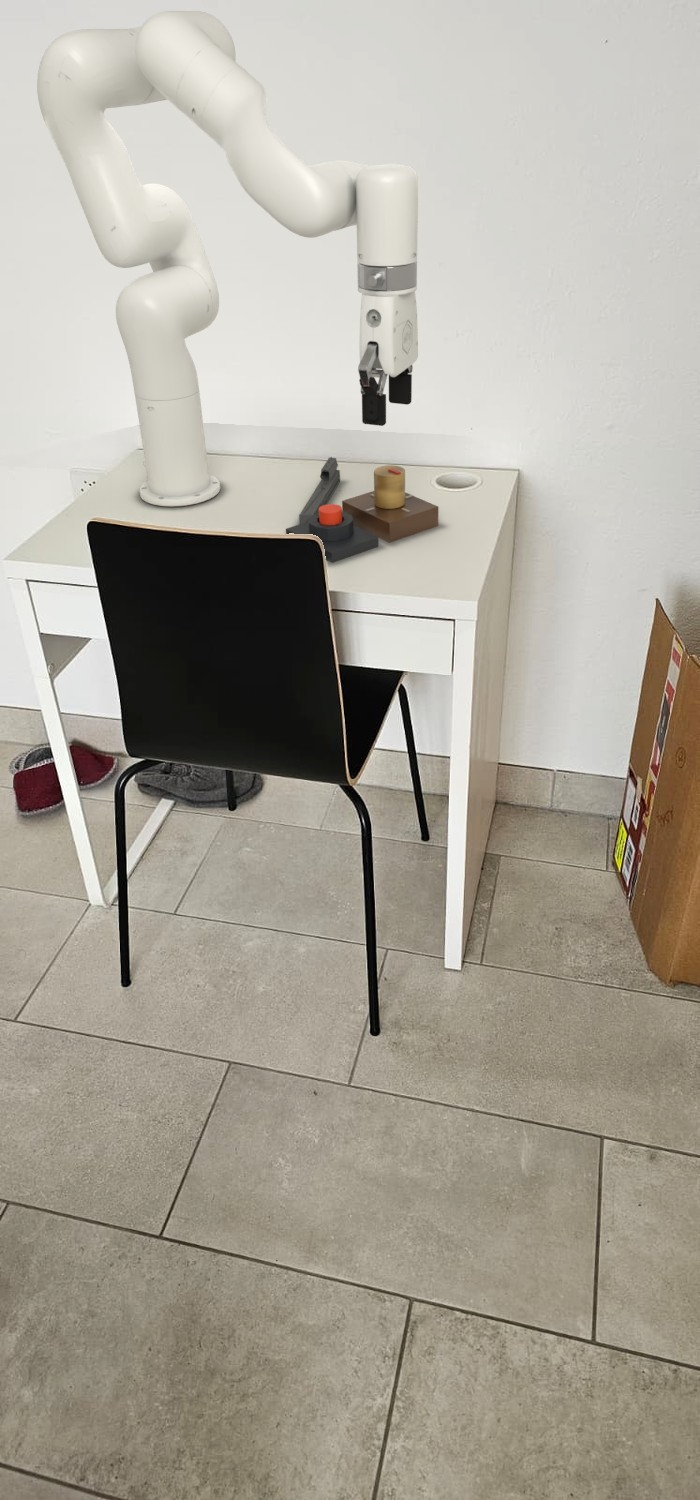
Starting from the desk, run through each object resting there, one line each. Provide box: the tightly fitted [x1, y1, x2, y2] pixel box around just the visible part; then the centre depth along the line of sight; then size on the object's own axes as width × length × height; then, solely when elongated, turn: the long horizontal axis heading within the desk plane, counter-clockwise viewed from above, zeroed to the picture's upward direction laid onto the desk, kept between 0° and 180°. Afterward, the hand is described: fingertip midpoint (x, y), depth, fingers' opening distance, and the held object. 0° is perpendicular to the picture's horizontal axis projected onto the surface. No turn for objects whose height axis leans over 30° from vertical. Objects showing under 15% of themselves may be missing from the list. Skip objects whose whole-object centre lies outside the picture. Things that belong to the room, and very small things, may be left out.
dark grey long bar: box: [298, 456, 341, 524], centre depth 153 cm, size 19×3×4 cm, turn 168°
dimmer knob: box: [373, 464, 406, 509], centre depth 144 cm, size 4×4×5 cm
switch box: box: [285, 512, 379, 564], centre depth 141 cm, size 11×8×4 cm
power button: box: [319, 503, 342, 525], centre depth 140 cm, size 3×3×2 cm
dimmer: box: [341, 490, 439, 544], centre depth 146 cm, size 11×9×3 cm
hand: (387, 413), depth 138 cm, fingers open, 9 cm apart
